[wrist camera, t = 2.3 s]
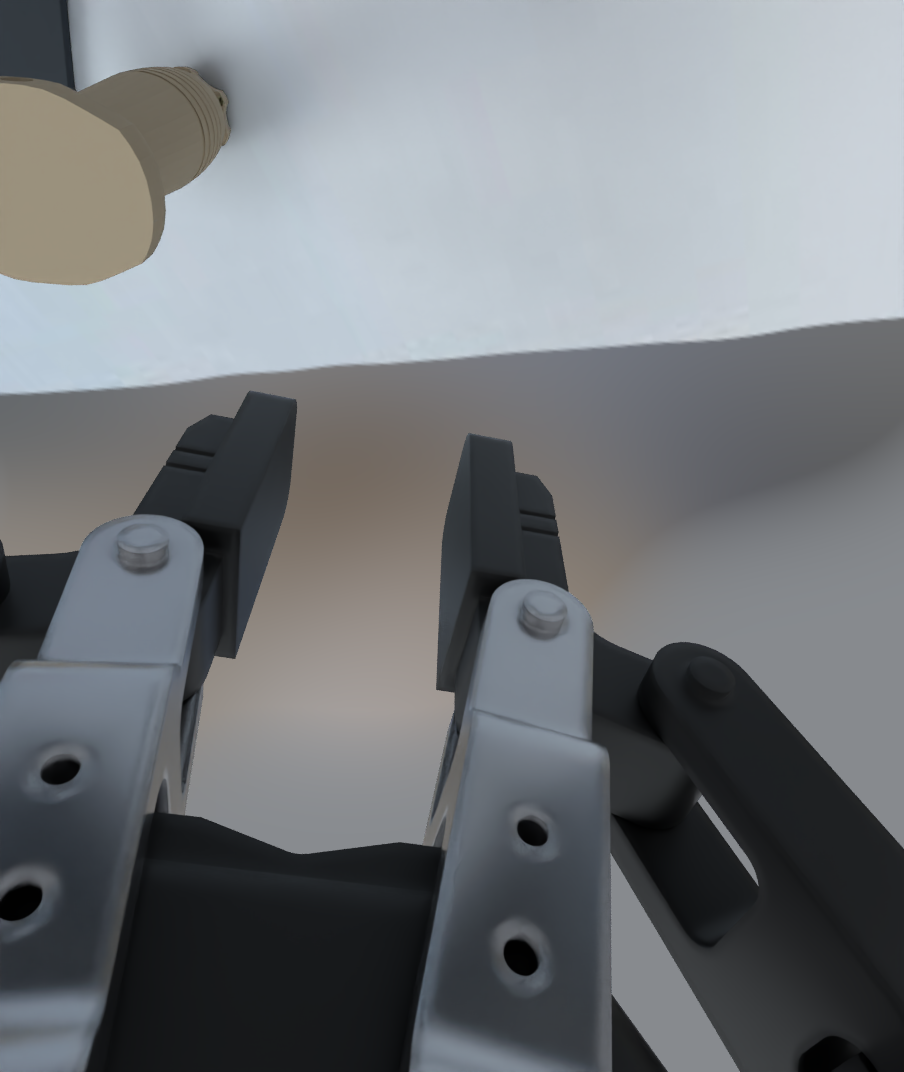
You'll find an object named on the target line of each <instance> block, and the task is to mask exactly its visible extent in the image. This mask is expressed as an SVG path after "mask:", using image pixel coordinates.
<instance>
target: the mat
mask: <svg viewBox="0 0 904 1072" xmlns="http://www.w3.org/2000/svg"><path fill="white" fill-rule="evenodd" d="M0 76H9V77H24V78H33V79H40V80H46V81H51V82H55V83H60V84H62V85H64V86H66V87H68V88H71V89H73V90H74V80H73V69H72V58H71V47H70V36H69V25H68V14H67V3H66V0H0Z"/></svg>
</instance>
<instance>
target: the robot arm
mask: <svg viewBox="0 0 904 1072" xmlns="http://www.w3.org/2000/svg"><path fill="white" fill-rule="evenodd" d="M296 414H297V402H296V400H295V399H291V398H286V397H281V396H276V395H271V394H265V393H260V392H254V391H249V392H248V394H247V396H246V397H245V399H244V401H243V403H242V405H241V407H240V409H239V410H238V412H237V414H236V416H235V418H234V419H233V418H228V417H223V416H217V415H212V414H211V415H209V416H207V417H206V418H204V419H202V420H200V421H199V422H197V423H195V424H193V425H192V426H190V427H188V428H187V430H186V431H185V433H184V434H183V436H182V437H181V439H180V441H179V442H178V444H177V446H176V449H175V450H174V451H173V452H172V453H171V455H170V457H169V458H168V460H167V461H166V466H163V468H162V470H161V471H160V473H159V474H158V476H157V477H156V479H155V480H154V482H153V484H152V485H151V487H150V488H149V490H148V492H147V493H146V495H145V496H144V498H143V500H142V501H141V503H140V504H139V506H138V508H137V509H136V511H135V512H134V514H133V515H131V516H126V517H121V518H117V519H114V520H111V521H109V522H106V523H104V524H102V525H101V526H99V527H97V528H96V529H94V530H93V531H92V532H91V533H90V534H89V535H88V536H87V537H86V538H85V540H84V541H83V543H82V545H81V548H80V550H79V551H73V552H68V553H58V554H40V555H19V556H5V554H4V549H3V544H2V542H1V540H0V1072H668V1071H667V1070H666V1069H665V1067H664V1066H663V1064H662V1063H661V1062H660V1060H659V1059H658V1058H657V1056H656V1055H655V1053H654V1052H653V1051H652V1049H651V1048H650V1046H649V1045H648V1044H647V1042H646V1041H645V1040H644V1038H643V1037H642V1035H641V1034H640V1033H639V1031H638V1030H637V1028H636V1027H635V1026H634V1024H633V1023H632V1022H631V1020H630V1019H629V1017H628V1016H627V1015H626V1014H625V1012H624V1011H623V1009H622V1008H621V1006H620V1005H619V1004H618V1002H617V1001H616V1000H615V998H614V997H613V995H612V994H611V868H610V867H611V865H610V853H611V854H612V856H613V858H614V859H615V861H616V863H617V864H618V866H619V868H620V869H621V871H622V873H623V874H624V876H625V878H626V879H627V881H628V883H629V885H630V886H631V888H632V890H633V891H634V893H635V895H636V896H637V898H638V900H639V902H640V903H641V905H642V907H643V908H644V910H645V912H646V913H647V915H648V917H649V918H650V920H651V922H652V923H653V925H654V927H655V929H656V930H657V932H658V934H659V935H660V937H661V938H662V940H663V942H664V944H665V945H666V947H667V949H668V950H669V952H670V954H671V956H672V957H673V959H674V961H675V962H676V964H677V966H678V967H679V969H680V971H681V972H682V974H683V976H684V978H685V979H686V981H687V983H688V984H689V986H690V988H691V989H692V991H693V993H694V994H695V996H696V998H697V999H698V1001H699V1003H700V1004H701V1006H702V1008H703V1010H704V1011H705V1013H706V1015H707V1016H708V1018H709V1020H710V1021H711V1023H712V1025H713V1026H714V1028H715V1029H716V1032H717V1033H718V1035H719V1037H720V1038H721V1040H722V1042H723V1043H724V1045H725V1047H726V1049H727V1050H728V1052H729V1054H730V1055H731V1057H732V1059H733V1060H734V1062H735V1064H736V1065H737V1067H738V1069H739V1070H740V1072H904V849H903V847H902V846H901V845H900V844H899V843H898V842H897V841H896V840H895V838H894V837H893V836H892V835H891V834H890V833H889V832H888V831H887V830H886V829H885V827H884V826H883V825H882V824H881V823H880V822H879V821H878V819H877V818H876V817H875V816H874V815H873V814H872V813H871V812H870V811H869V809H868V808H867V807H866V806H865V805H864V804H863V803H862V802H861V800H860V799H859V798H858V797H857V796H856V795H855V794H854V793H853V792H852V790H851V789H850V788H849V787H848V786H847V785H846V784H845V783H844V781H843V780H842V779H841V778H840V777H839V776H838V775H837V774H836V772H834V770H833V769H832V768H831V767H830V766H829V765H828V764H827V762H826V761H825V760H824V759H823V758H822V757H821V756H820V755H819V753H818V752H817V751H816V750H815V749H814V748H813V747H812V746H811V745H810V743H809V742H808V741H807V740H806V739H805V738H804V737H803V736H802V734H801V733H800V732H799V731H798V730H797V729H796V728H795V727H794V726H793V725H792V723H791V722H790V721H789V720H788V719H787V718H786V717H785V715H784V714H783V713H782V712H781V711H780V710H779V709H778V708H777V707H776V705H775V704H774V703H773V702H772V701H771V700H770V699H769V698H768V696H767V695H766V694H765V693H764V692H763V691H762V690H761V689H760V688H759V686H758V685H757V684H756V683H755V682H754V681H753V680H752V679H751V677H750V676H749V675H748V674H747V673H746V672H745V671H744V670H743V669H742V668H741V667H740V666H739V665H737V664H736V663H735V662H734V661H733V660H731V659H729V658H728V657H727V656H725V655H723V654H722V653H720V652H718V651H716V650H714V649H711V648H709V647H706V646H703V645H700V644H695V643H689V642H679V643H672V644H669V645H666V646H665V647H663V648H661V649H660V650H659V651H658V652H657V654H656V656H655V658H654V659H653V660H651V659H648V658H645V657H643V656H641V655H639V654H636V653H634V652H631V651H629V650H626V649H624V648H622V647H619V646H617V645H615V644H613V643H611V642H609V641H607V640H605V639H604V638H602V637H600V636H599V635H597V634H596V633H595V632H594V629H593V622H592V620H591V616H590V614H589V613H588V611H587V609H586V608H585V607H584V605H583V604H582V603H581V602H580V601H579V600H578V599H577V598H576V597H574V596H573V595H572V594H570V593H569V591H568V585H567V580H566V573H565V568H564V562H563V556H562V550H561V544H560V539H559V537H558V527H557V522H556V520H555V510H554V504H553V498H552V495H551V494H550V492H549V491H548V490H547V489H546V487H545V486H544V485H543V483H542V482H541V481H540V479H539V478H538V477H537V476H534V475H529V474H524V473H518V472H515V464H514V454H513V446H512V442H511V441H507V440H502V439H497V438H492V437H486V436H481V435H476V434H471V433H469V434H468V435H467V437H466V440H465V444H464V447H463V451H462V455H461V459H460V463H459V467H458V471H457V475H456V479H455V483H454V487H453V490H452V495H451V498H450V502H449V506H448V510H447V515H446V520H445V525H444V532H443V540H442V558H441V583H440V608H439V633H438V659H437V683H436V690H441V691H448V692H454V693H455V710H454V713H453V716H452V719H451V723H450V725H449V729H448V731H447V736H446V741H445V745H444V749H443V754H442V758H441V763H440V768H439V772H438V776H437V781H436V785H435V790H434V794H433V799H432V803H431V808H430V812H429V817H428V822H427V826H426V831H425V835H424V839H423V843H422V845H417V844H409V843H401V842H398V843H390V844H382V845H374V846H367V847H358V848H351V849H343V850H335V851H327V852H320V853H311V854H295V853H291V852H287V851H285V850H282V849H280V848H277V847H275V846H272V845H270V844H267V843H265V842H262V841H259V840H257V839H254V838H252V837H249V836H247V835H244V834H242V833H239V832H236V831H234V830H232V829H229V828H227V827H224V826H221V825H219V824H217V823H214V822H212V821H209V820H207V819H204V818H202V817H194V816H186V815H185V811H186V804H187V797H188V791H189V785H190V778H191V772H192V765H193V759H194V752H195V746H196V739H197V733H198V726H199V720H200V713H201V707H202V700H203V683H204V681H205V679H206V677H207V674H208V672H209V669H210V666H211V664H212V661H213V658H214V656H219V657H226V658H233V659H235V657H236V655H237V652H238V649H239V646H240V642H241V640H242V637H243V634H244V631H245V628H246V625H247V622H248V619H249V617H250V614H251V611H252V608H253V605H254V602H255V599H256V596H257V593H258V590H259V587H260V584H261V581H262V578H263V576H264V573H265V570H266V566H267V564H268V561H269V558H270V555H271V552H272V549H273V546H274V543H275V540H276V537H277V534H278V532H279V529H280V526H281V523H282V520H283V517H284V513H285V509H286V505H287V500H288V494H289V488H290V481H291V470H292V459H293V448H294V437H295V426H296ZM701 795H703V796H704V797H705V799H706V800H707V802H708V803H709V804H710V806H711V807H712V809H713V810H714V811H715V813H716V814H717V815H718V817H719V818H720V820H721V821H722V822H723V824H724V825H725V826H726V828H727V829H728V830H729V832H730V833H731V835H732V836H733V837H734V839H735V840H736V841H737V843H738V844H739V846H740V847H741V848H742V850H743V851H744V852H745V854H746V855H747V857H748V858H749V860H750V862H751V863H752V865H753V867H754V870H755V872H756V875H757V879H758V884H759V887H758V885H757V884H756V882H755V881H754V880H753V878H752V877H751V875H750V874H749V873H748V871H747V870H746V868H745V867H744V866H743V864H742V863H741V862H740V860H739V859H738V857H737V856H736V855H735V853H734V852H733V850H732V849H731V848H730V846H729V845H728V843H727V842H726V841H725V839H724V838H723V837H722V835H721V834H720V832H719V831H718V829H717V828H716V827H715V825H714V824H713V823H712V821H711V820H710V819H709V817H708V816H707V814H706V813H705V811H704V810H703V809H702V807H701V806H700V804H699V803H698V802H697V801H698V800H699V798H700V797H701Z"/></svg>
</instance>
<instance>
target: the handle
mask: <svg viewBox="0 0 904 1072" xmlns="http://www.w3.org/2000/svg"><path fill="white" fill-rule="evenodd" d="M227 105H228V99H227V97H226V95H225V93H224V92H223V91H222V90H218V89H216V88H213V87H212V86H210V85H209V84H207V83H206V82H205V81H204V80H203V79H202V78H201V77H200V76H199V74H198V72H197V71H196V70H194V69H191V68H188V67H174V68H171V67H150V68H141V69H135V70H130V71H125V72H121V73H118V74H115V75H113V76H111V77H109V78H107V79H104V80H102V81H100V82H98V83H96V84H94V85H92V86H90V87H87V88H85V89H83V90H81V91H79V92H77V91H75V90H73V89H71V88H68V87H66V86H64V85H62V84H60V83H55V82H51V81H46V80H40V79H33V78H24V77H9V76H0V274H3V275H5V276H8V277H11V278H13V279H18V280H23V281H29V282H37V283H49V284H61V285H87V284H91V283H95V282H99V281H103V280H105V279H107V278H110V277H112V276H115V275H117V274H120V273H122V272H124V271H126V270H128V269H131V268H133V267H135V266H137V265H139V264H142V263H143V262H144V261H145V260H146V259H148V258H149V257H150V256H151V255H152V254H153V252H154V251H155V249H156V247H157V245H158V243H159V241H160V239H161V236H162V233H163V230H164V224H165V212H166V209H165V195H167V194H170V193H172V192H174V191H176V190H178V189H180V188H182V187H183V186H185V185H187V184H188V183H189V182H191V181H192V180H193V179H195V178H196V177H197V176H199V175H200V174H201V173H202V172H203V171H204V170H205V169H206V168H207V167H208V166H209V165H210V163H211V162H212V161H213V160H214V158H215V157H216V155H217V154H218V152H219V150H220V148H221V146H224V145H225V144H226V143H227V141H228V139H229V136H230V132H231V128H230V127H229V125H228V122H227V117H226V109H227Z"/></svg>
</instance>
